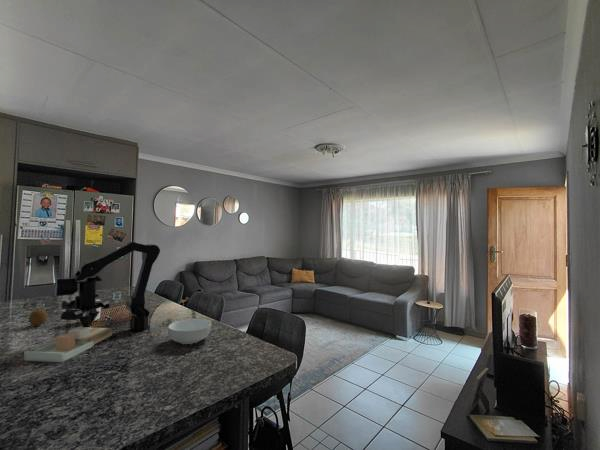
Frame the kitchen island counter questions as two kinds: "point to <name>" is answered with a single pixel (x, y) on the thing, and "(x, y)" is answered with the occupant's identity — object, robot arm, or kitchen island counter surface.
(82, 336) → the cream tile
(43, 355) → the tray
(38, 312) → the fruit
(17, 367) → the kitchen island counter surface
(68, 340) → the terracotta tile
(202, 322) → the cereal bowl
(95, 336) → the beech board
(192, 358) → the kitchen island counter surface
